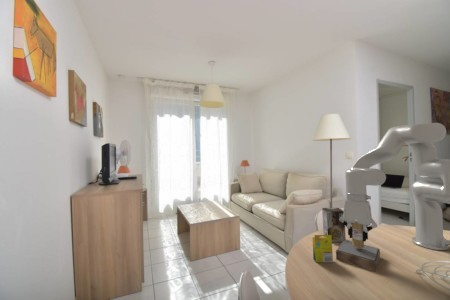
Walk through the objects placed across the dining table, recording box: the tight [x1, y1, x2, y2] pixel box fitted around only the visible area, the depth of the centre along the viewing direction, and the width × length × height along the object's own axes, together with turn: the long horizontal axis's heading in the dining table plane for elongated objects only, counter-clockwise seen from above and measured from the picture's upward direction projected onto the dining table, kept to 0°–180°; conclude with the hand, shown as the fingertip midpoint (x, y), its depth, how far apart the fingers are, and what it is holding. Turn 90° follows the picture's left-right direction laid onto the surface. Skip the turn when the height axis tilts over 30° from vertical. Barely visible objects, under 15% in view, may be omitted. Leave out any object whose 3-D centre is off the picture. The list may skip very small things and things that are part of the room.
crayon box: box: [312, 234, 334, 264], centre depth 85 cm, size 7×3×12 cm, turn 86°
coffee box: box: [321, 207, 347, 243], centre depth 106 cm, size 9×6×16 cm
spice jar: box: [351, 219, 365, 248], centre depth 87 cm, size 5×5×13 cm
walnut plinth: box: [335, 239, 381, 272], centre depth 86 cm, size 14×14×4 cm
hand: (357, 238), depth 87 cm, fingers closed on spice jar, 4 cm apart
